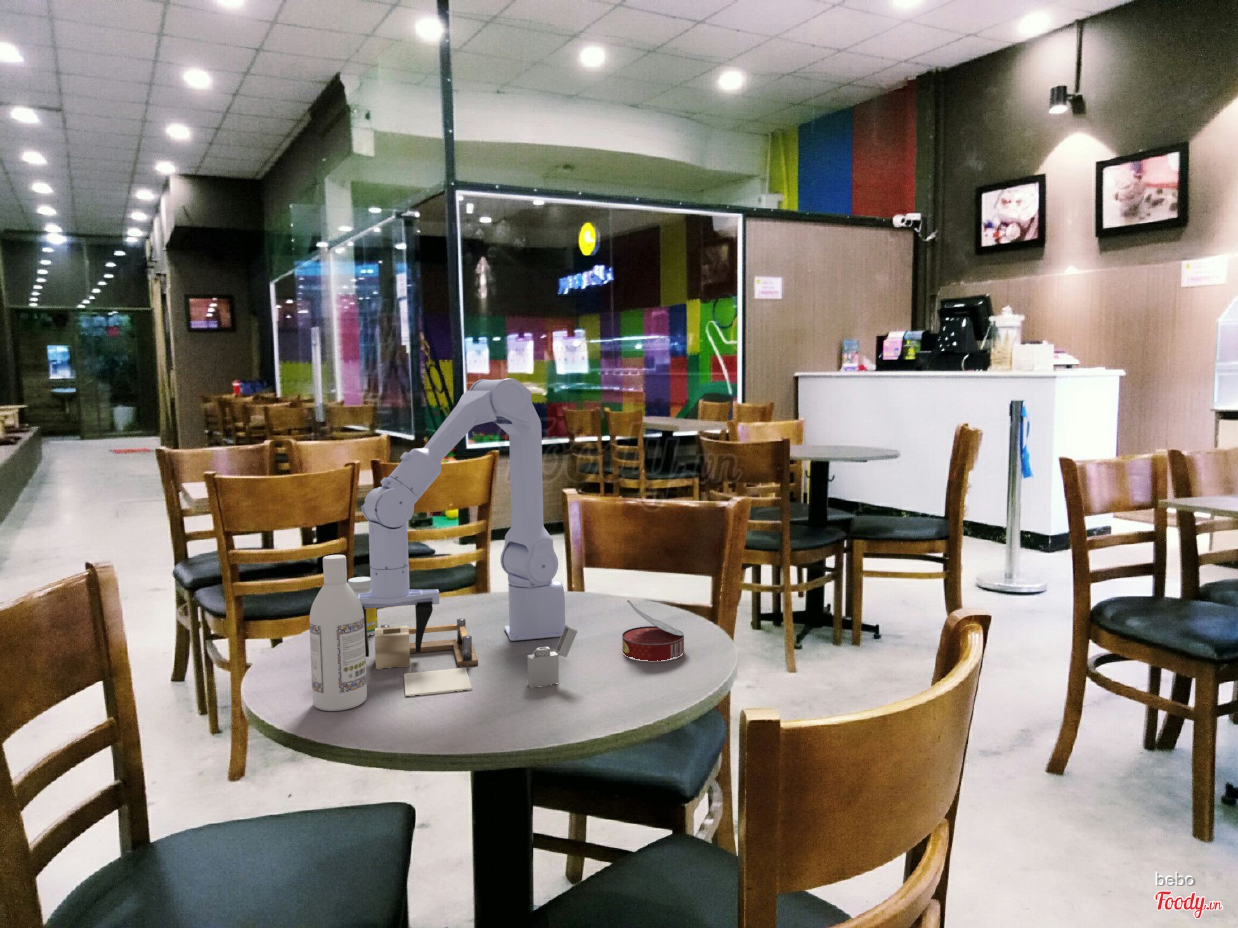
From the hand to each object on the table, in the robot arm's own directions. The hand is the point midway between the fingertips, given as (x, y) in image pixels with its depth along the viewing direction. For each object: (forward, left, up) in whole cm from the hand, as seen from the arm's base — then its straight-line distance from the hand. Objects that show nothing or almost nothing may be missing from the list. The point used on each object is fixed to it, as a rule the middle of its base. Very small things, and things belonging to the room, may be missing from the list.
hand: (392, 652), depth 129 cm
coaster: (-6, +11, -2) cm, 13 cm away
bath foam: (+7, +15, -2) cm, 17 cm away
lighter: (-22, +16, -2) cm, 27 cm away
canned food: (-40, +7, -2) cm, 41 cm away
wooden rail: (-5, -1, -2) cm, 6 cm away
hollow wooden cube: (0, 0, -2) cm, 2 cm away
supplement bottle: (+5, -18, -2) cm, 19 cm away
